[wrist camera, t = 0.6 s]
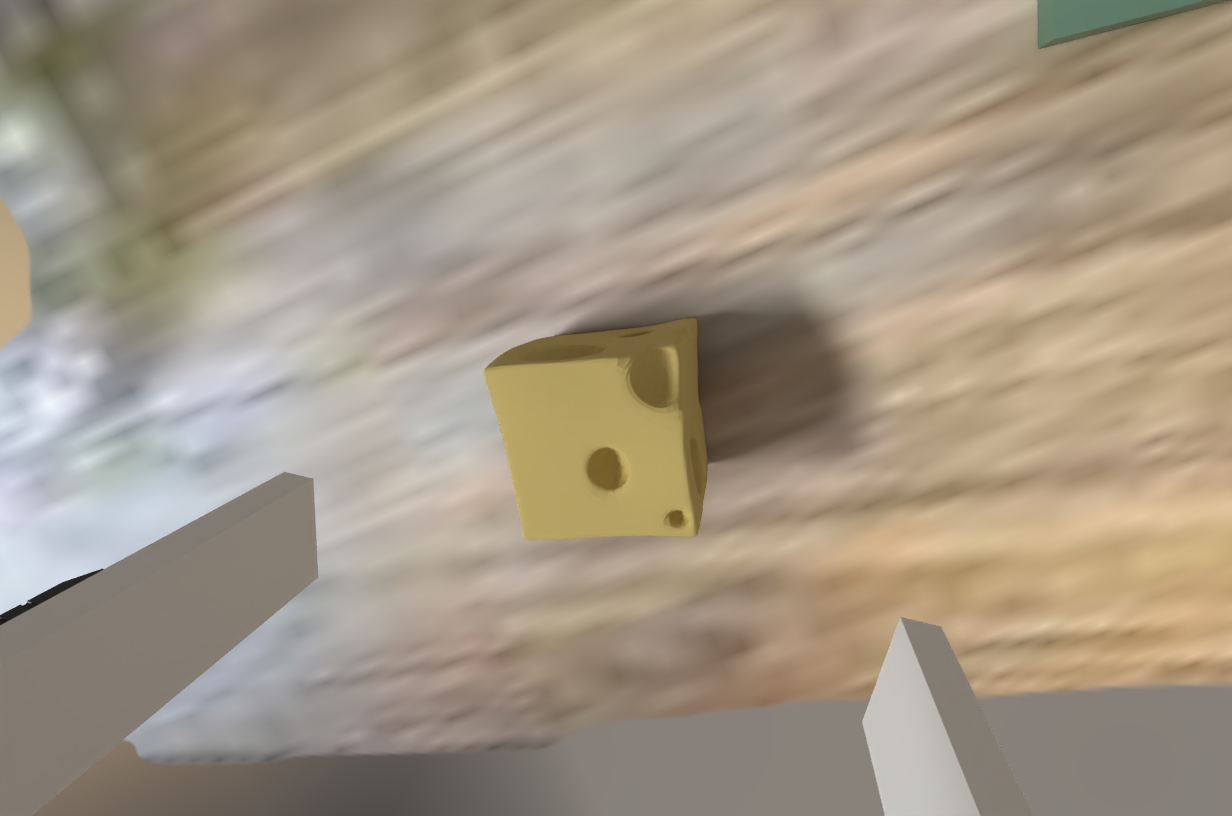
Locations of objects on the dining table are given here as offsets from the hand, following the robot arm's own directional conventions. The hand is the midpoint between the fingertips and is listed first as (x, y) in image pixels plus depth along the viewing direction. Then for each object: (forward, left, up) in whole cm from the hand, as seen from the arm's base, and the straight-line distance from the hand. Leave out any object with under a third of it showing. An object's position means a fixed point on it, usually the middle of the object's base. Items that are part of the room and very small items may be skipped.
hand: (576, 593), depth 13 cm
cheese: (+3, -4, -26) cm, 26 cm away
